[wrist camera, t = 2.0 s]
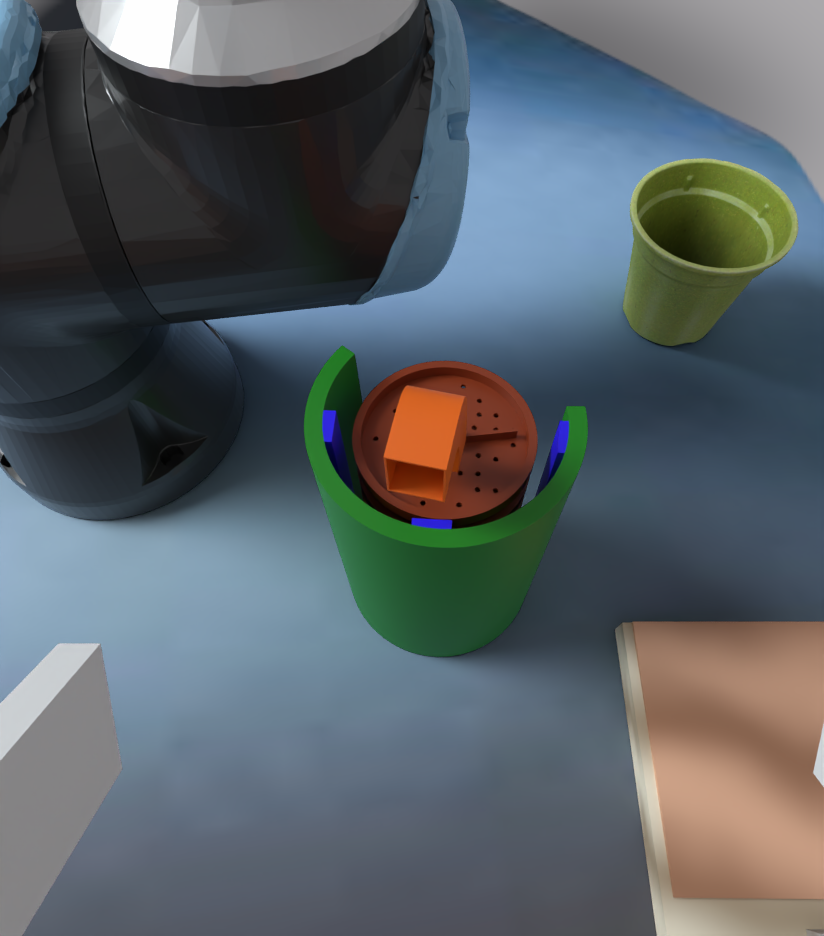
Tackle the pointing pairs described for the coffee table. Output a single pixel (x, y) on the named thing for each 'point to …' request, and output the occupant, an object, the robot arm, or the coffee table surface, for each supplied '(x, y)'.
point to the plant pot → (700, 244)
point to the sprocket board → (728, 773)
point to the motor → (436, 496)
